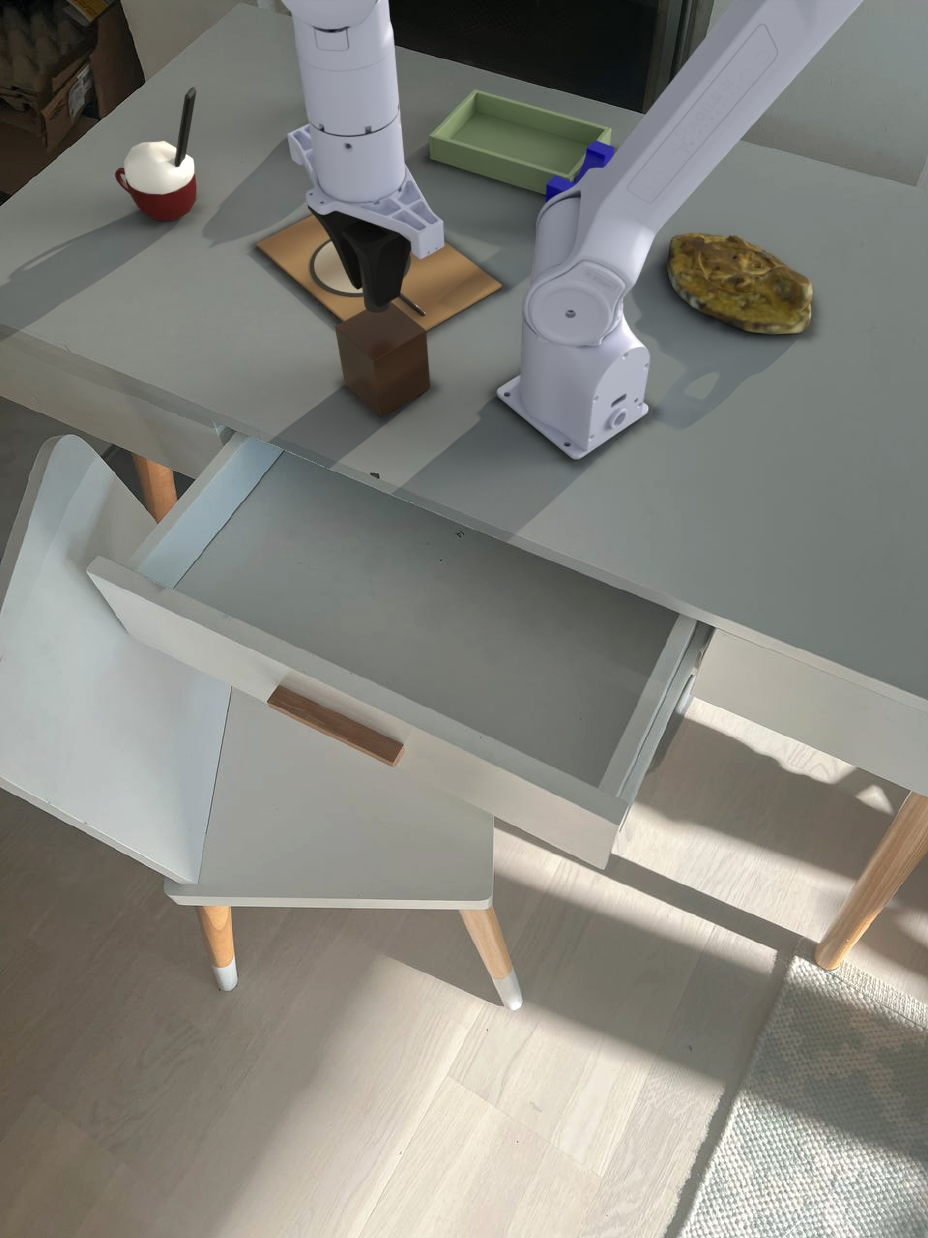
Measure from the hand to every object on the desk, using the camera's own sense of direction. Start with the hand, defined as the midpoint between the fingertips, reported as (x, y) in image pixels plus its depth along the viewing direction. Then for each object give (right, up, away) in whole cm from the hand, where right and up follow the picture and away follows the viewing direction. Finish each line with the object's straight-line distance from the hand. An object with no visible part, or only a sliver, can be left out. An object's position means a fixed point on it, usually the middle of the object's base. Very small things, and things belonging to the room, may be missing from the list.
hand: (376, 290), depth 73 cm
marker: (0, -1, +1) cm, 1 cm away
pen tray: (+12, +21, +24) cm, 35 cm away
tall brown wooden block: (0, -5, +8) cm, 10 cm away
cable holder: (+16, +17, +17) cm, 29 cm away
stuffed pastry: (+30, +4, +13) cm, 33 cm away
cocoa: (-21, +14, +21) cm, 33 cm away
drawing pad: (-1, +7, +16) cm, 18 cm away
